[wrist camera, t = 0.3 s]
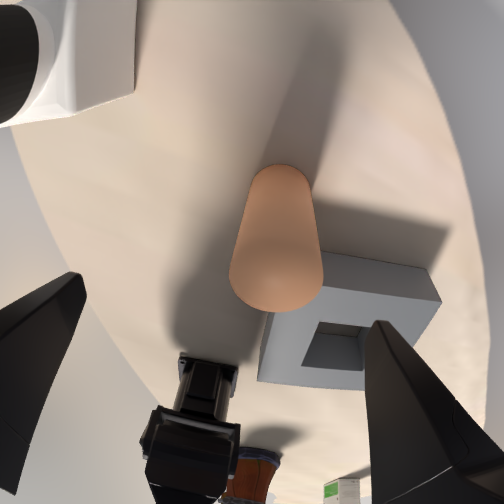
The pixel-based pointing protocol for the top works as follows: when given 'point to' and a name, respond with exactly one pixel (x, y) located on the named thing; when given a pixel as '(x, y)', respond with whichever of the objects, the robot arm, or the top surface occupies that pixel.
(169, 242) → the top surface
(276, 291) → the peg
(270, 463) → the mug
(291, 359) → the socket block
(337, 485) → the skincare box
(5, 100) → the medicine bottle
